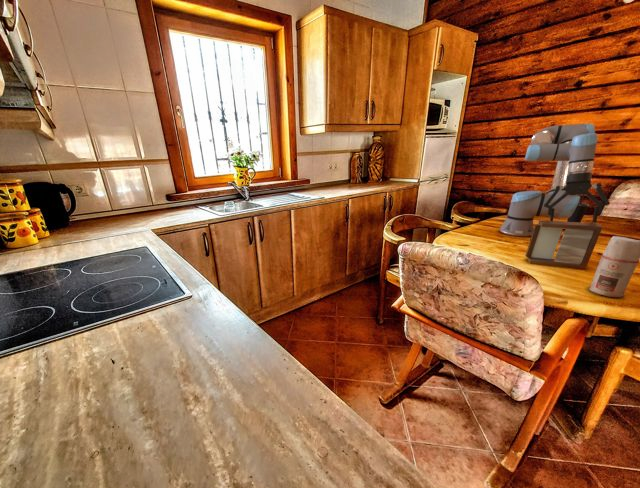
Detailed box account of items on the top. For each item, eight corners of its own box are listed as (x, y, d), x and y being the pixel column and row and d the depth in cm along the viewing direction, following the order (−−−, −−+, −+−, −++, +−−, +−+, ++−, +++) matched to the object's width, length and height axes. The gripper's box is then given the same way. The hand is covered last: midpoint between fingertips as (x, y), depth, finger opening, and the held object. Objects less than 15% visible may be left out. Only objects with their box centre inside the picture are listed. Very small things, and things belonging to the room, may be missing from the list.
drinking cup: (573, 225, 165) (585, 191, 157) (584, 229, 158) (598, 194, 150) (559, 226, 166) (570, 192, 158) (569, 229, 159) (582, 194, 151)
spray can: (580, 287, 100) (602, 234, 92) (601, 286, 100) (625, 233, 92) (607, 299, 92) (634, 242, 84) (630, 297, 92) (658, 240, 84)
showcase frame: (526, 259, 124) (538, 220, 117) (580, 264, 117) (596, 223, 110) (529, 263, 120) (542, 223, 113) (585, 269, 113) (603, 226, 106)
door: (525, 255, 124) (535, 224, 118) (551, 258, 120) (562, 226, 114) (526, 257, 122) (536, 225, 117) (552, 259, 119) (564, 227, 113)
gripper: (541, 175, 124) (535, 223, 128) (626, 168, 108) (616, 222, 113) (539, 176, 129) (534, 222, 134) (620, 169, 114) (611, 221, 118)
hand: (571, 222), depth 123 cm, fingers open, 13 cm apart
